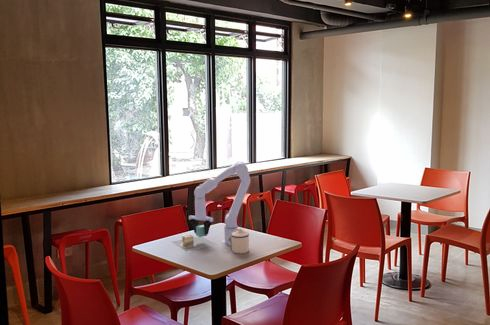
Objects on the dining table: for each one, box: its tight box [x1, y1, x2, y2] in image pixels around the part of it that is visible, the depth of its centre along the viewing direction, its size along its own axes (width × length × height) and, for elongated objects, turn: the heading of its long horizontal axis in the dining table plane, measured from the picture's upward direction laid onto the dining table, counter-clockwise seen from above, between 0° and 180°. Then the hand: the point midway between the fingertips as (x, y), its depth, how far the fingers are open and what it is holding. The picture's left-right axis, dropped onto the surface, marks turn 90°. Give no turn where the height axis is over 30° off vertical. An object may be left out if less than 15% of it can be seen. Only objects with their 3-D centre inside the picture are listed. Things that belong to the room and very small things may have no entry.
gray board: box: [171, 236, 218, 252], centre depth 247 cm, size 20×18×1 cm
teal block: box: [195, 224, 208, 238], centre depth 248 cm, size 4×4×5 cm
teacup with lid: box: [229, 227, 250, 254], centre depth 234 cm, size 12×9×12 cm
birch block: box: [181, 234, 194, 247], centre depth 244 cm, size 4×4×5 cm
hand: (201, 233), depth 248 cm, fingers closed on teal block, 6 cm apart
